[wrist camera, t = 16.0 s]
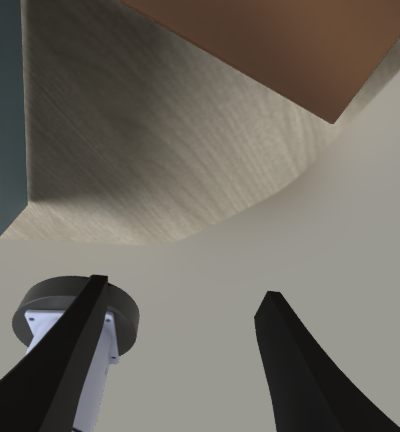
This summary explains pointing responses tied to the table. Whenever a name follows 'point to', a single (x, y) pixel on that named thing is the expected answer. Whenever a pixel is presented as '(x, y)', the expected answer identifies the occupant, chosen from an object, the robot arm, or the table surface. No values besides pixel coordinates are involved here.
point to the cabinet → (289, 42)
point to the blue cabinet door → (11, 116)
